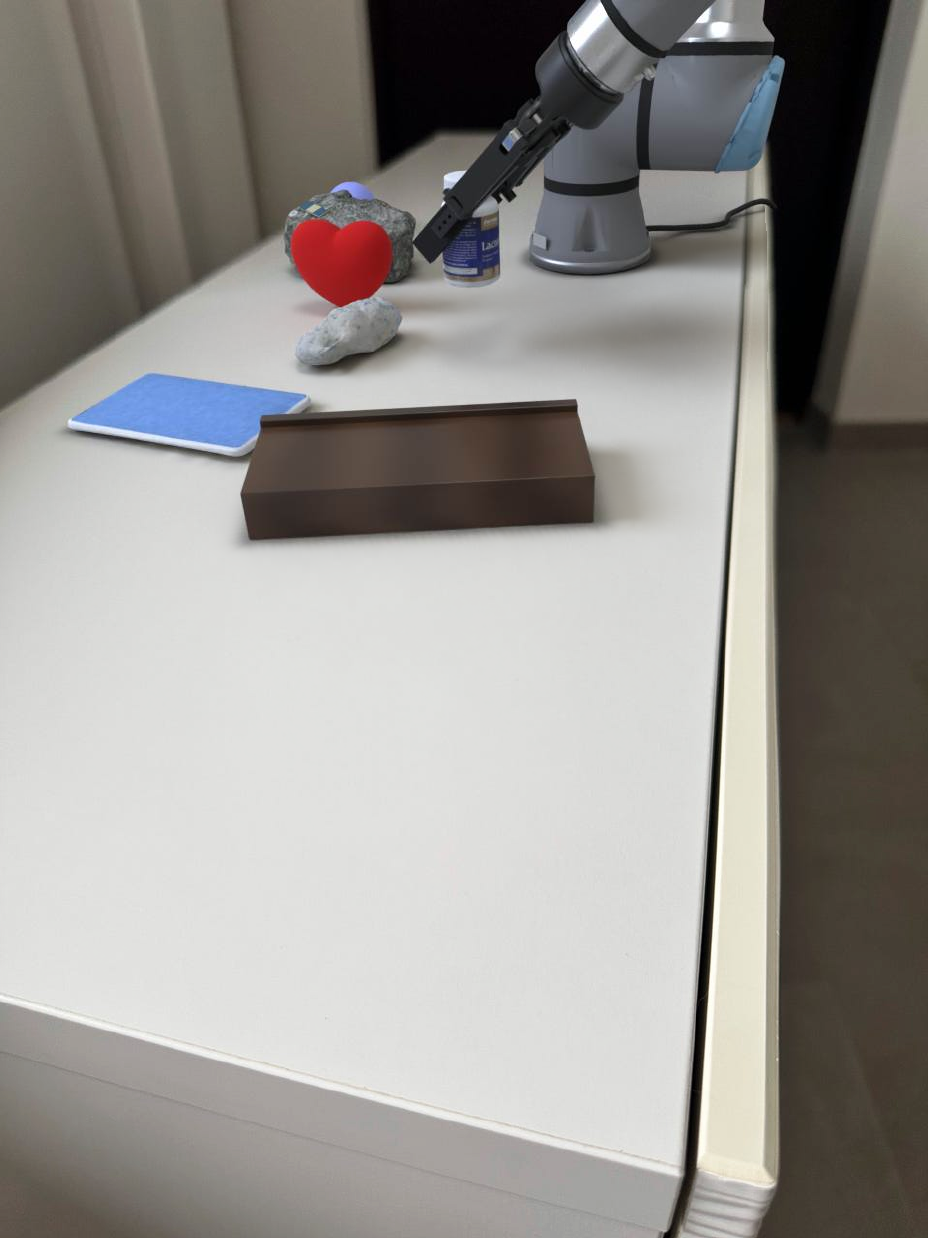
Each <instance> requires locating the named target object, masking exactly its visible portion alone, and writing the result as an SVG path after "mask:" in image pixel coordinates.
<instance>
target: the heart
mask: <svg viewBox="0 0 928 1238" xmlns="http://www.w3.org/2000/svg"><path fill="white" fill-rule="evenodd" d="M291 253H292V257H293V260H294V263H295V265H296V268H297V269H298V271H299V273H300V274H299V273H298V274H299V275H300V277H301V278H302V279H303V280H304V282H305V283H306V284H307V286H309V288H310V289H311V290H312V291H314V292H315V293H316V294H317V295H318V296H320V297H321V298H323V299H324V300H326V301H327V302H329V303H331V304H333V305H334V306H336V307H337V308H338V307H339V308H341V307H344V306H346V305H348V304H350V303H352V302H356V301H358V300H363V299H367V298H368V299H369V298H371V297H373V296H374V295H375V294H376V293H377V292H378V291H379V290H380V288H381V287H382V286H383V284H384V283H385V282H384V281H385V279H386V277H387V275H388V273H389V270H390V267H391V263H392V245H391V241H390V238H389V236H388V234H387V233H386V231H385V230H384V229H383V228H382V227H381V226H380V225H378V224H376V223H374V222H371V221H364V220H363V221H356V222H352V223H350V224H348V225H346V226H345V227H343V228H342V229H341V228H339V227H338V226H336V225H334V224H332V223H330V222H328V221H325V220H320V219H311V220H307V221H304V222H302V223H301V224H299V225H298V226H297V227H296V229H295V230H294V232H293V234H292V238H291Z"/></svg>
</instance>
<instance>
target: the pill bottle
mask: <svg viewBox="0 0 928 1238" xmlns="http://www.w3.org/2000/svg"><path fill="white" fill-rule="evenodd" d="M466 171H467V170H458V171H452V172H449V173H446V174H445V175H444V176H443V191H444V190H445V188H450V189H452V187H453V186H454V185H455V184H456V183H457V182H458V180H459V179H460V178H461V177H462V176H463V175H464V174H465V172H466ZM444 204H445V201H444V200H442V203H441V205H440V208H441V207H442V206H443V205H444ZM472 217H473V218H472V219H471V220H470V222H469V223H468V224H467V225H466V226H465V227H464V228H463V229H462V231H461V232H460V233H459V234H458V235H457V236H456V237H455V238H454V240H453V241H452V242H451V243H450V244H449V245H448V246H447V248H446V249H445V250H444V251H443V252H442V253H441V254H442V272H443V278H444V280H445V281H444V282H446V283H448V285H450V286H452V287H456V288H464V289H476V288H483V287H487V286H490V285H493V284H494V283H496V282H497V281H498V280H499V279H500V278H501V249H500V248H501V247H500V245H501V243H500V241H501V240H500V208H499V205H498V203H497V201H496V200H495V199H494V198H493V197H492V196H491V195H490V197H489V198H488V199H487V200H486V201H485V202H484V203H483V204H482V205H481V206H480V207H479V208H478V209H477V210H476V211H475V212H474V213H473V216H472Z"/></svg>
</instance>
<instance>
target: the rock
mask: <svg viewBox="0 0 928 1238" xmlns="http://www.w3.org/2000/svg"><path fill="white" fill-rule="evenodd" d="M311 219H320V220H325V221H328V222H330V223H332V224H334V225H336V226H338V227H339V228H341V229H342V228H343V227H345V226H346V225H348V224H350V223H352V222H356V221H363V220H364V221H371V222H374V223H376V224H378V225H380V226H381V227H382V228H383V229H384V230H385V231H386V233H387V234H388V236H389V238H390V241H391V245H392V263H391V267H390V270H389V273H388V275H387V277H386V279H385V281H384V283H396V282H398V281H399V280H402V278H404V277H406V276H408V270H409V268H410V263H411V261H412V260H413V259H414V256H415V255H414V251H415V246H414V245H413V244H412V241H413V240H414V238H415V231H416V225H417V219H416V218H415V216H413V215H412V213H411V212H409V211H407V210H402V209H398V208H397V207H394V206H391V205H390V204H389V203H387V202H385V201H383V200H382V199H378V198H375V199H372V200H368V199H362V200H360V199H357V198H354V197H352V195H351V193H349V191H348V190H340V191H337V192H333V193H331V192H326V193H321V194H316V195H314V196H312V197H309V199H308V200H307V201H306V202H304V203H302V204H301V205H299V206H296V207H295V208H293V209H292V210H291V211H290V212H289V214H288V215H287V217H286V218H285V219H284V221H285V228H284V230H283V232H284V233H283V242H284V253H285V255H286V256H287V257H288V259H289V262H290V264H291V266H292V267H293V268H294V270H295V272H296V273H297V274H299V275H300V273H299V271H298V269H297V268H296V265H295V263H294V260H293V257H292V253H291V238H292V234H293V232H294V230H295V229H296V227H297V226H298V225H299V224H301V223H302V222H304V221H307V220H311Z"/></svg>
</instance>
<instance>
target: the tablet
mask: <svg viewBox="0 0 928 1238" xmlns="http://www.w3.org/2000/svg"><path fill="white" fill-rule="evenodd" d="M311 404H312V399H311V397H310V395H308V394H305V393H298V392H292V391H286V390H285V391H284V390H279V389H278V390H277V389H269V388H262V387H255V386H249V385H248V386H247V385H242V384H233V383H227V382H220V381H213V380H212V381H211V380H206V379H200V378H190V377H184V376H177V375H171V374H163V373H156V372H149V373H146V374H145V373H144V374H143V375H142V376H140V377H138V378H137V379H135V380H133V381H131V382H130V383H129V384H127V385H125V386H124V387H121V388H120V389H117V390H116V391H114V392H113V393H111V394H110V395H108V396H107V397H105V398H103V399H101V400H99V401H98V402H96V403H95V404H93V405H91V406H89V407H88V408H86V409H84V410H83V411H81V412H79V413H78V414H76V415H74V416H73V417H71V418H70V419H68V421H67V427H68V429H69V430H71V431H80V432H87V433H95V434H100V435H108V436H115V437H119V438H126V439H132V440H138V441H145V442H150V443H155V444H161V445H168V446H174V447H180V448H187V449H192V450H198V451H203V452H209V453H214V454H219V455H224V456H228V457H234V458H235V457H237V458H238V457H243V456H246V455H247V454H249V453H250V452H252V451H254V448H255V445H256V442H257V438H258V435H259V432H260V429H261V427H260V418H261V416H262V415H275V414H295V413H303V411H304V410H306V409H307V408H308V407H309V406H311Z"/></svg>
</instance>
